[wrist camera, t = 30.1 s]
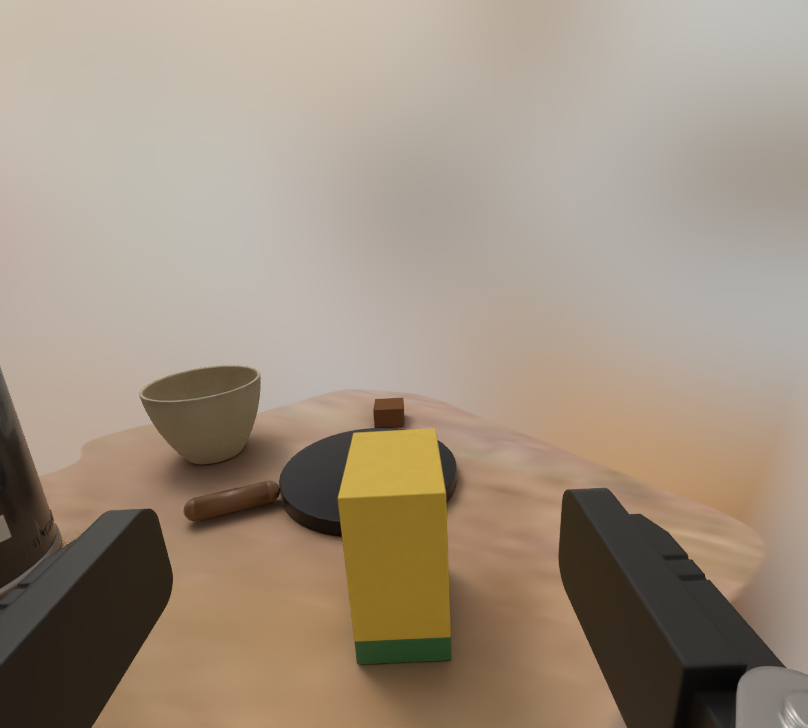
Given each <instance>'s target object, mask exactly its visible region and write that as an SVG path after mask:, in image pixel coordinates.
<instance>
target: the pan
mask: <svg viewBox="0 0 808 728" xmlns="http://www.w3.org/2000/svg"><path fill="white" fill-rule="evenodd" d="M396 430H405V429H396V428H370V429H360V430H354V431H348V432H344V433H340V434H337V435H333V436H330V437H327V438H325V439H322V440H320V441H317V442H315V443H313V444H311V445H309V446H308V447H306V448H304V449H303V450H301V451H300V452H298V453H297V454H296V455H295V456H294V457H292V458H291V460H290V461H289V462H288V463H287V464H286V466H285V467H284V469H283V471H282V473H281V475H280V480H279V486H280V488H279V486H278V484H277V483H275V482H273V481H265V482H261V483H257V484H252V485H248V486H244V487H239V488H235V489H231V490H226V491H222V492H218V493H213V494H209V495H205V496H200V497H196V498H193V499H191V500H189V501H188V502H187V503H186V505H185V507H184V515H185V516H186V518H187V519H189V520H191V521H198V520H202V519H206V518H211V517H215V516H219V515H223V514H227V513H231V512H235V511H239V510H243V509H247V508H251V507H255V506H259V505H263V504H268V503H271V502H274V501H275V500H276V499H277V498H278V497H279V494H280V493H281V500H282V503H283V506H284V508H285V510H286V511H287V513H288V514H289V515H290V516H291V517H292V518H293V519H294V520H295V521H297V522H298V523H300V524H301V525H303V526H305V527H307V528H309V529H312V530H315V531H317V532H320V533H325V534H329V535H336V536H342V531H341V523H340V514H339V506H338V495H339V491H340V487H341V483H342V479H343V475H344V470H345V466H346V462H347V458H348V454H349V450H350V445H351V441H352V437H353V433H358V432H377V431H396ZM437 441H438V440H437ZM438 447H439V453H440V460H441V466H442V472H443V478H444V484H445V490H446V503H447V502H448V501H449V499H450V498H451V497H452V495H453V493H454V490H455V488H456V483H457V476H456V461H455V458H454V456H453V454H452V452H451V451H450V450H449V449H448V448H447V447H446V446H445V445H444V444H443V443H441V442H440V441H438Z"/></svg>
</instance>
